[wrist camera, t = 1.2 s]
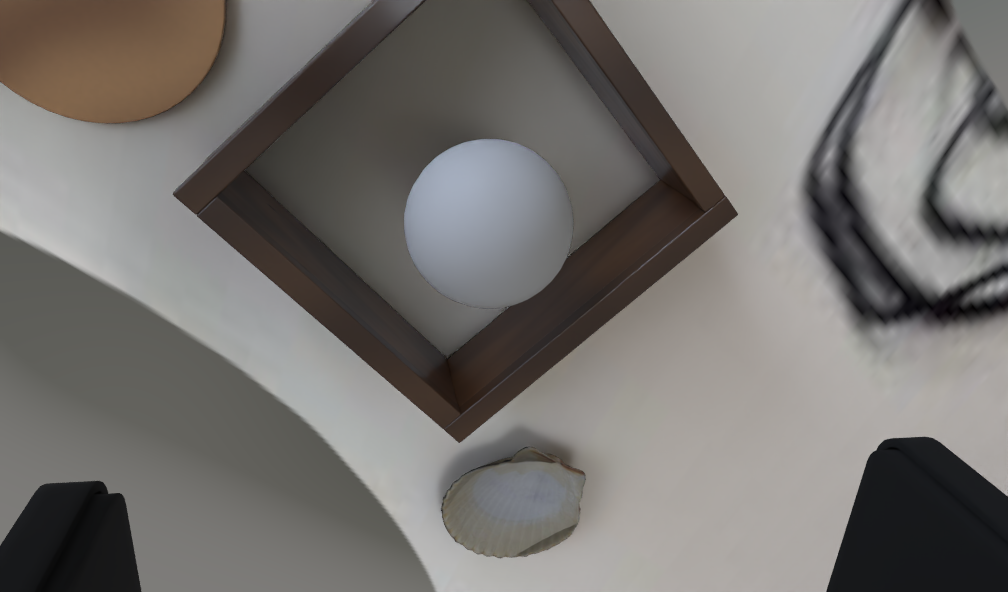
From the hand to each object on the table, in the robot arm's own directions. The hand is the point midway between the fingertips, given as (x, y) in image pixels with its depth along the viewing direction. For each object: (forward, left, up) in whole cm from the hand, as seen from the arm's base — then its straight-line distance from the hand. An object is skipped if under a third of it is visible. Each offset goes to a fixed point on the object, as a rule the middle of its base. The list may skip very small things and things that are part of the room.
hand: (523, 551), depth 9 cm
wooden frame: (+3, +1, -26) cm, 26 cm away
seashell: (+19, -9, -26) cm, 33 cm away
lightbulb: (+3, +1, -26) cm, 26 cm away
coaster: (-12, -5, -26) cm, 29 cm away
